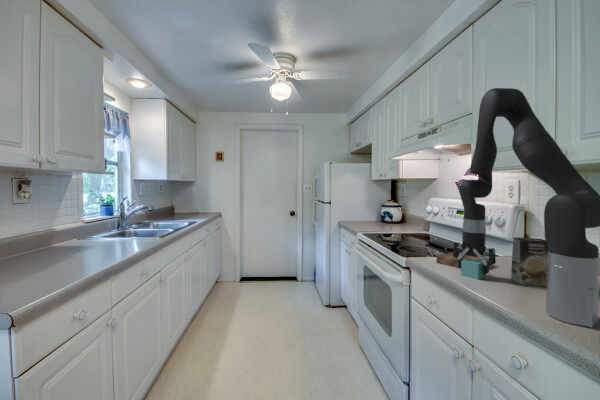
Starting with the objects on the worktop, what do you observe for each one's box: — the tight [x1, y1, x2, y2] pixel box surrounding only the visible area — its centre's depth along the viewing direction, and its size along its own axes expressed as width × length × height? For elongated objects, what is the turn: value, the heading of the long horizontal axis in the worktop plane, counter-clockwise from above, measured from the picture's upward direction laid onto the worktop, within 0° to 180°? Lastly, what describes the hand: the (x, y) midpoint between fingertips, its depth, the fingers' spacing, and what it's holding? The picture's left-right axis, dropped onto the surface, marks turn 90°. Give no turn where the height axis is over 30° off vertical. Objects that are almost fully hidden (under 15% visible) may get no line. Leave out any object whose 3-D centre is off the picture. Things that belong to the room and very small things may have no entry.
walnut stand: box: [436, 251, 492, 269], centre depth 119 cm, size 16×16×3 cm
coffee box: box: [510, 236, 548, 288], centre depth 95 cm, size 9×6×16 cm
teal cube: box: [460, 258, 486, 280], centre depth 103 cm, size 6×6×6 cm
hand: (472, 271), depth 103 cm, fingers open, 8 cm apart
